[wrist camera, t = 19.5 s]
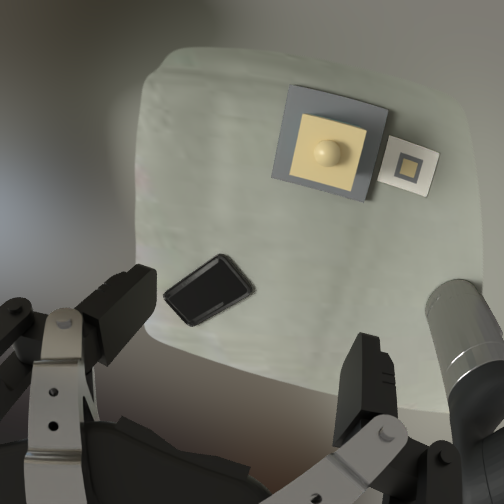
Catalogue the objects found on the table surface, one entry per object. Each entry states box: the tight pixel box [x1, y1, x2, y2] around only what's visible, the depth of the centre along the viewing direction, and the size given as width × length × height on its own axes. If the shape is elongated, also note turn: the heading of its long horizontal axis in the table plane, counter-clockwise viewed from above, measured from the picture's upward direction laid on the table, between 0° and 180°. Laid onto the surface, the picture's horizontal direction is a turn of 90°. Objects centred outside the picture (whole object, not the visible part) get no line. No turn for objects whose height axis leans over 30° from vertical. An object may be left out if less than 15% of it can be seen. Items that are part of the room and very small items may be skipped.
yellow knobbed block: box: [289, 113, 367, 191], centre depth 29 cm, size 6×6×6 cm
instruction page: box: [377, 135, 440, 197], centre depth 35 cm, size 7×6×1 cm
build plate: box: [271, 85, 388, 203], centre depth 36 cm, size 12×12×2 cm
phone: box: [163, 254, 252, 327], centre depth 51 cm, size 8×1×15 cm
